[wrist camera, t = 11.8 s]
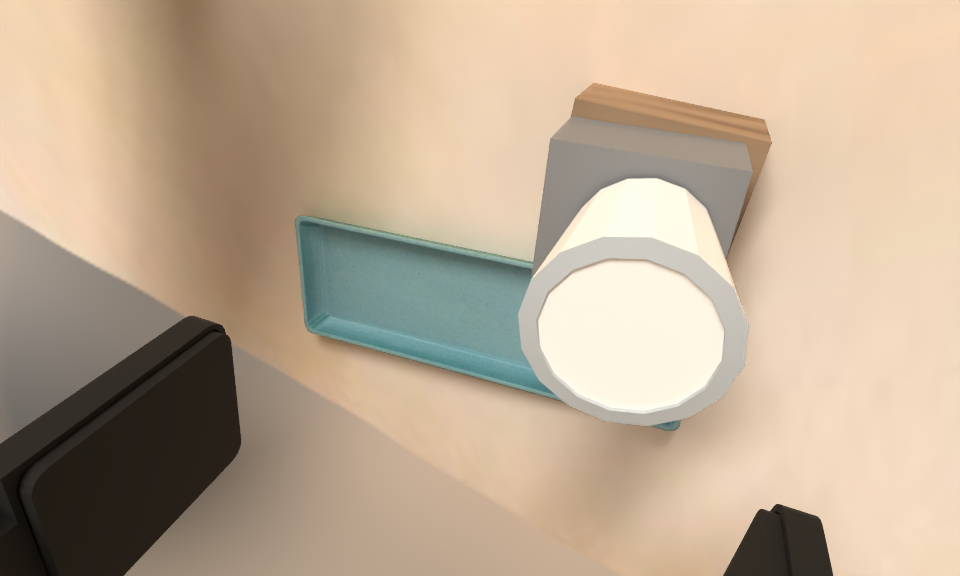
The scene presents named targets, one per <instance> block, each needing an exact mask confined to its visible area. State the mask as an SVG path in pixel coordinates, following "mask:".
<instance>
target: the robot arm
mask: <svg viewBox="0 0 960 576" xmlns="http://www.w3.org/2000/svg"><path fill="white" fill-rule="evenodd" d="M240 445H241V434H240V425H239V415H238V407H237V395H236V386H235V376H234V367H233V356H232V347H231V340H230V338H229V336H228V335H226V333H225V329H224V328H223V326H222V325H220V324H217V323H214V322H211V321H208V320H205V319H201V318H198V317H195V316H188V317H186V318H184V319H183V320H182V321H180V322H178V323H177V324H175V325H174V326H172V327H171V328H169V329H168V330H167V331H165V332H164V333H162V334H161V335H159V336H158V337H156V338H155V339H153V340H152V341H150V342H149V343H148V344H146V345H144V346H143V347H142V348H140V349H139V350H137V351H136V352H134V353H133V354H131V355H130V356H128V357H127V358H126V359H124V360H122V361H121V362H120V363H118V364H117V365H115V366H114V367H112V368H111V369H109V370H108V371H106V372H105V373H103V374H102V375H101V376H99V377H98V378H96V379H95V380H93V381H92V382H90V383H89V384H87V385H86V386H85V387H83V388H81V389H80V390H79V391H77V392H76V393H74V394H73V395H71V396H70V397H69V398H67V399H65V400H64V401H62V402H61V403H59V404H58V405H57V406H55V407H54V408H52V409H51V410H49V411H48V412H46V413H45V414H43V415H42V416H41V417H39V418H38V419H36V420H35V421H33V422H32V423H30V424H29V425H27V426H26V427H25V428H23V429H21V430H20V431H19V432H17V433H16V434H14V435H13V436H11V437H10V438H8V439H7V440H5V441H4V442H2V443H1V444H0V576H124V575H125V574H126V572H127V571H128V570H129V569H130V568H131V567H132V566H133V565H134V564H135V563H136V562H137V561H138V560H139V559H140V558H141V557H142V555H143V554H144V553H145V552H146V551H147V550H148V549H149V548H150V547H151V546H152V545H153V544H154V543H155V542H156V541H157V540H158V539H159V538H160V536H162V534H163V533H164V532H165V531H166V530H167V529H168V528H169V527H170V526H171V525H172V524H173V523H174V522H175V521H176V520H177V519H178V518H179V516H181V514H182V513H183V512H184V511H185V510H186V509H187V508H188V507H189V506H190V505H191V504H192V503H193V502H194V501H195V500H196V498H198V497H199V495H200V494H201V493H202V492H203V491H204V490H205V489H206V488H207V487H208V486H209V485H210V484H211V483H212V482H213V481H214V480H215V479H216V478H217V476H218V475H219V474H220V473H221V472H222V471H223V470H224V469H225V468H226V467H227V466H228V465H229V464H230V463H231V462H232V461H233V459H234V458H235V457H236V455H237V453H238V451H239V449H240ZM723 576H833V572H832V568H831V563H830V558H829V553H828V549H827V544H826V539H825V535H824V530H823V526H822V523H821V520H820V519H819V518H818V517H817V516H814V515H811V514H808V513H805V512H802V511H799V510H796V509H792V508H789V507H786V506H783V505H780V504H776V505H775V506H774V507H773V508H772V510H771V511H767V510H764V509H760V510H759V511H758V512H757V514H756V515H755V517H754V519H753V521H752V523H751V525H750V527H749V529H748V530H747V532H746V534H745V536H744V538H743V540H742V542H741V543H740V545H739V547H738V549H737V551H736V553H735V555H734V557H733V558H732V560H731V562H730V564H729V566H728V568H727V570H726V571H725V573H724V575H723Z"/></svg>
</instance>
